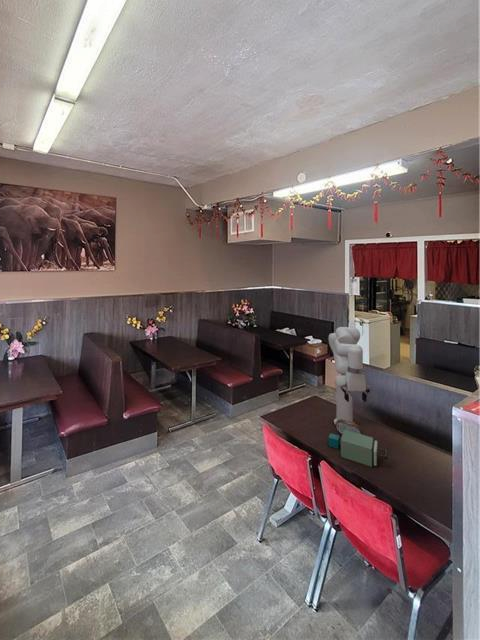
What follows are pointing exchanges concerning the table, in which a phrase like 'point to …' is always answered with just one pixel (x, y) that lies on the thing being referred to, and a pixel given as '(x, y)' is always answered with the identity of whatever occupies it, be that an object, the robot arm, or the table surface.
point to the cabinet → (357, 447)
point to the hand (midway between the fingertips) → (355, 400)
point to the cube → (334, 441)
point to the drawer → (378, 454)
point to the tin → (348, 427)
